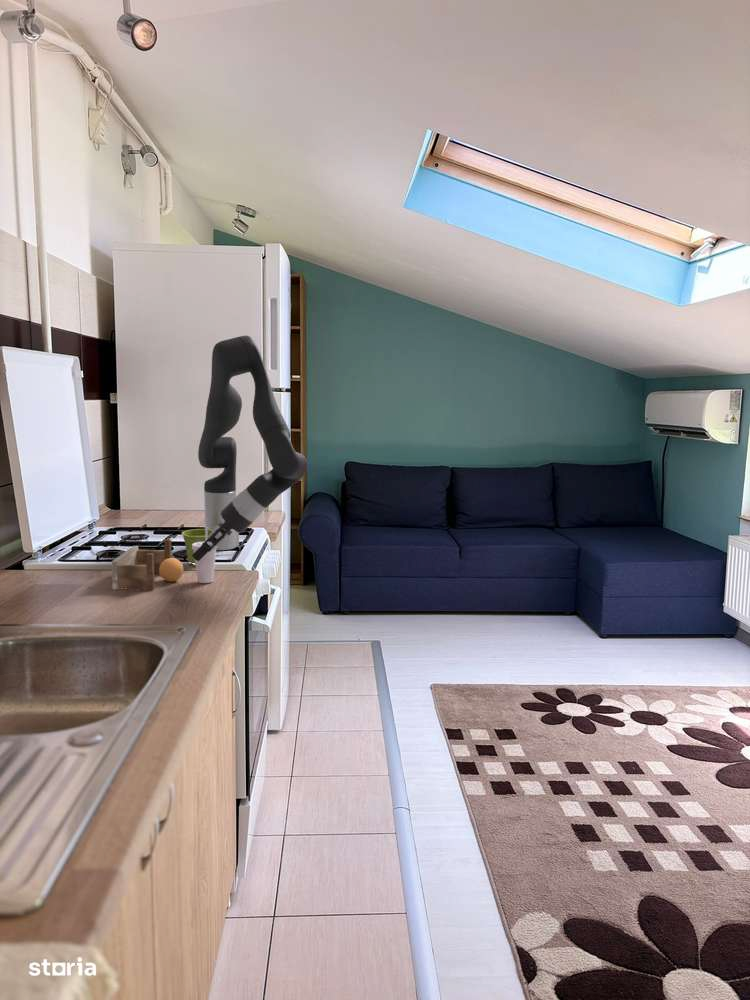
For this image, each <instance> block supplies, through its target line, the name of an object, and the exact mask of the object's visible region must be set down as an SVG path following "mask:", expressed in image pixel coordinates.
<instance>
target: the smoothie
mask: <svg viewBox="0 0 750 1000" xmlns="http://www.w3.org/2000/svg"><path fill="white" fill-rule="evenodd" d="M204 529H205V538H206V540H207V539H208V538H207V537H208V527H205V526H204ZM202 543H203V542H197V543H193V544H192V549H193V551H194V553H195V552H196V551H197V550H198V549H199V548H200V547H201V546H202ZM207 544H208V545H209V546H210V547H211V546H212V545H213V544H212V543H211V542H207ZM217 548H218V547H217V546H214V547H213V548H212V549H211V551H209V552H207V553H206V554H205V555H204V556H203V557H202V558H201V559H200V560H199V561H196V560H195V564H196V565H195V570H196V576H197V582H198V583H200V584H209V583H213V581H214V573H215V563H216V553H217V550H216V549H217Z"/></svg>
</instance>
